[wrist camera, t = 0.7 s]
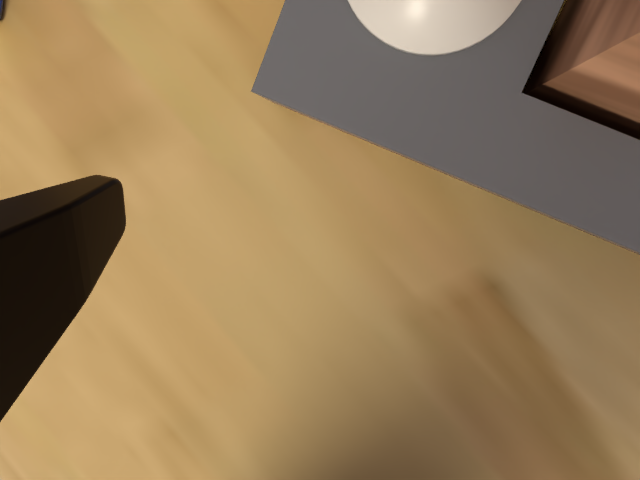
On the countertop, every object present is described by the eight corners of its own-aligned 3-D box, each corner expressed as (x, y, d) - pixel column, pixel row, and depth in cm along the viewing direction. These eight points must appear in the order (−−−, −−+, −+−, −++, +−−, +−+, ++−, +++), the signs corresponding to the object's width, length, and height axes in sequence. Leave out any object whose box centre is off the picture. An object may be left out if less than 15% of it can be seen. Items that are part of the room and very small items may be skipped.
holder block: (812, 326, 21) (907, 363, 17) (273, 102, 23) (247, 89, 19) (1001, 10, 19) (1158, -30, 15) (394, -214, 21) (393, -303, 17)
